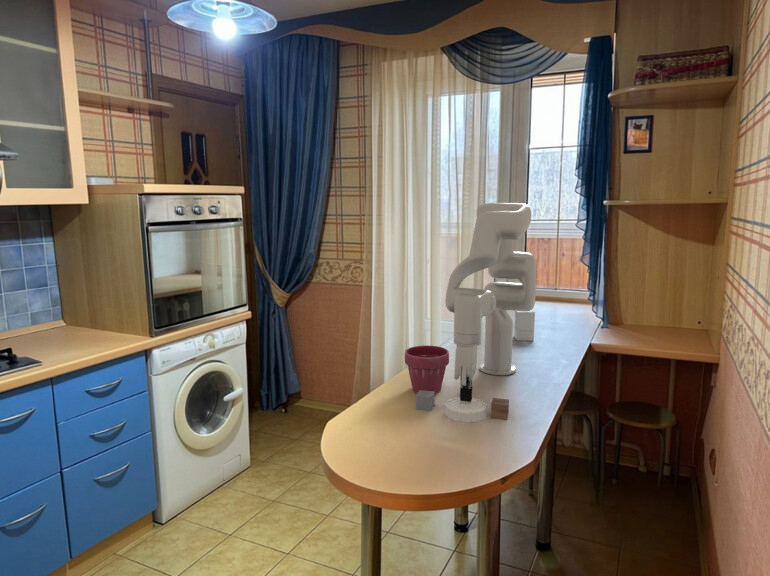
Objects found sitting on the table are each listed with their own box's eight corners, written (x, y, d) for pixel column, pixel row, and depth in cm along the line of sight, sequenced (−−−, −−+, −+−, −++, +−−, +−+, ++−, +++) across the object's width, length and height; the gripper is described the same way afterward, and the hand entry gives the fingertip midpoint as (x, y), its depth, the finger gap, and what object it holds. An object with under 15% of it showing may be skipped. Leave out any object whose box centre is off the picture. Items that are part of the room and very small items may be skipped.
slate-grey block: (419, 404, 163) (419, 390, 162) (434, 406, 161) (434, 391, 161) (415, 410, 158) (416, 395, 158) (431, 411, 157) (431, 397, 156)
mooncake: (458, 403, 164) (459, 391, 163) (494, 413, 156) (494, 401, 156) (436, 415, 155) (436, 403, 154) (473, 427, 147) (473, 414, 147)
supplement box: (531, 336, 239) (532, 308, 237) (533, 341, 232) (535, 312, 229) (513, 336, 240) (515, 308, 237) (516, 340, 232) (517, 311, 230)
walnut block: (492, 412, 157) (492, 397, 156) (508, 414, 155) (509, 399, 154) (490, 418, 152) (491, 403, 152) (507, 420, 151) (507, 405, 150)
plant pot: (397, 384, 179) (397, 347, 177) (436, 379, 184) (436, 343, 182) (415, 400, 166) (415, 359, 164) (456, 394, 171) (457, 354, 169)
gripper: (458, 330, 160) (457, 390, 163) (449, 343, 146) (448, 408, 149) (484, 332, 158) (482, 392, 161) (477, 346, 144) (475, 411, 147)
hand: (465, 400), depth 155 cm, fingers closed
